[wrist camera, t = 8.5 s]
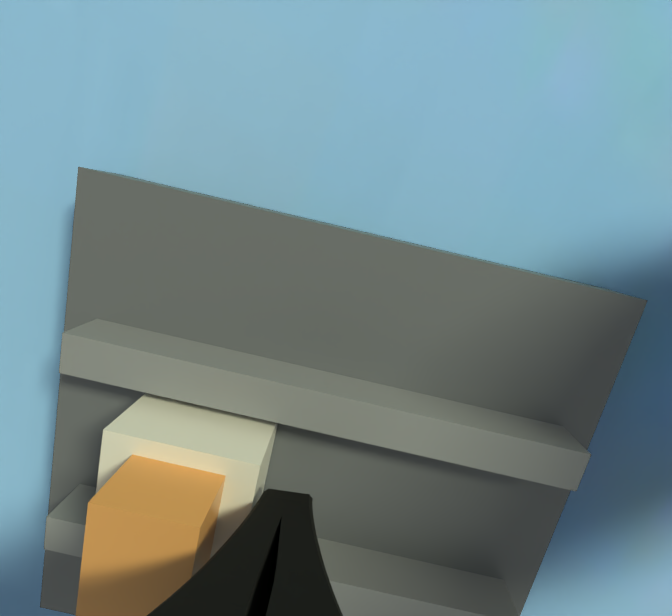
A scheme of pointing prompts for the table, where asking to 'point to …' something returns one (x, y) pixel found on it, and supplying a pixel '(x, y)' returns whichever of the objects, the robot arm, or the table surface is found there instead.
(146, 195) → the breaker panel
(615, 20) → the table surface
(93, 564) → the lever
